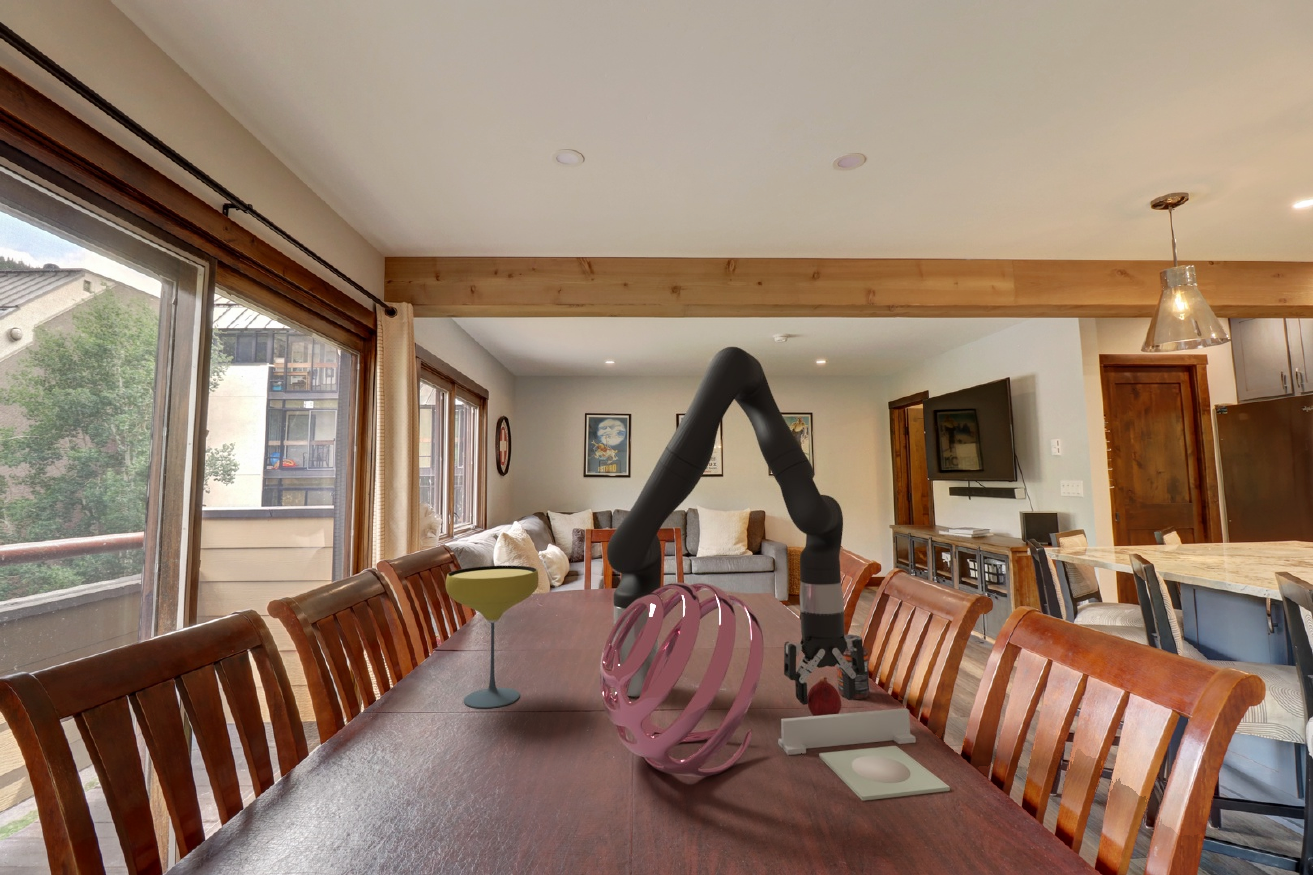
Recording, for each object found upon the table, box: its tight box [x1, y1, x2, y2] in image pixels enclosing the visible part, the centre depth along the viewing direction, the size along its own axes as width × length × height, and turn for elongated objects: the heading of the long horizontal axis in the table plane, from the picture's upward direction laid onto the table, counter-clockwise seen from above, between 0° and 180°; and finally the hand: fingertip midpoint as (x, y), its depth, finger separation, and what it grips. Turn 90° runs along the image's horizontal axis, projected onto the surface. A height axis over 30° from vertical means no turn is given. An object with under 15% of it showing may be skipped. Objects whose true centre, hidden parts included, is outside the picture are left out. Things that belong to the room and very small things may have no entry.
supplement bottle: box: [836, 634, 870, 700], centre depth 119 cm, size 6×6×11 cm
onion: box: [807, 675, 842, 716], centre depth 105 cm, size 6×6×8 cm
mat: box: [818, 745, 951, 802], centre depth 87 cm, size 13×13×1 cm
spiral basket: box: [599, 582, 764, 778], centre depth 93 cm, size 28×28×27 cm
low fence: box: [777, 707, 917, 756], centre depth 97 cm, size 22×4×4 cm, turn 100°
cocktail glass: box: [445, 565, 539, 710], centre depth 119 cm, size 18×18×25 cm
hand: (825, 700), depth 105 cm, fingers open, 8 cm apart
